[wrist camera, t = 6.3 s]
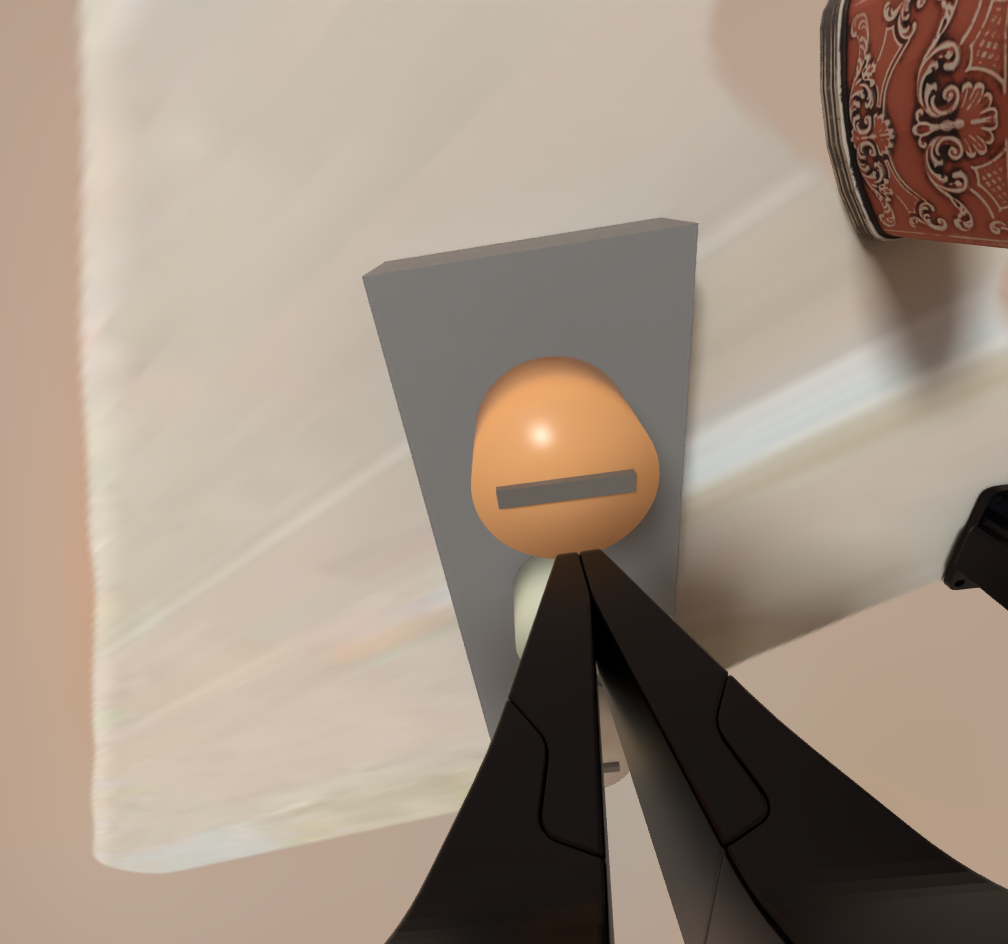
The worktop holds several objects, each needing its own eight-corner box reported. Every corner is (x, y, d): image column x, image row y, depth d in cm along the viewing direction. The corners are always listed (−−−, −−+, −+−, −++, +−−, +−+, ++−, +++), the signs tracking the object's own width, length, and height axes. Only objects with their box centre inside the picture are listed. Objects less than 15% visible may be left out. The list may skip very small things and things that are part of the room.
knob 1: (600, 314, 15) (665, 388, 10) (605, 434, 18) (659, 552, 12) (468, 334, 16) (453, 418, 10) (488, 450, 18) (487, 573, 12)
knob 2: (602, 624, 27) (632, 741, 21) (605, 672, 29) (632, 790, 23) (526, 632, 27) (535, 751, 21) (534, 680, 29) (544, 799, 24)
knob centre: (596, 494, 22) (631, 599, 17) (599, 563, 25) (632, 677, 19) (504, 506, 23) (508, 613, 17) (516, 574, 25) (523, 689, 19)
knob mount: (661, 217, 17) (698, 223, 14) (649, 688, 30) (666, 743, 27) (384, 261, 17) (361, 276, 14) (495, 704, 31) (496, 759, 28)
